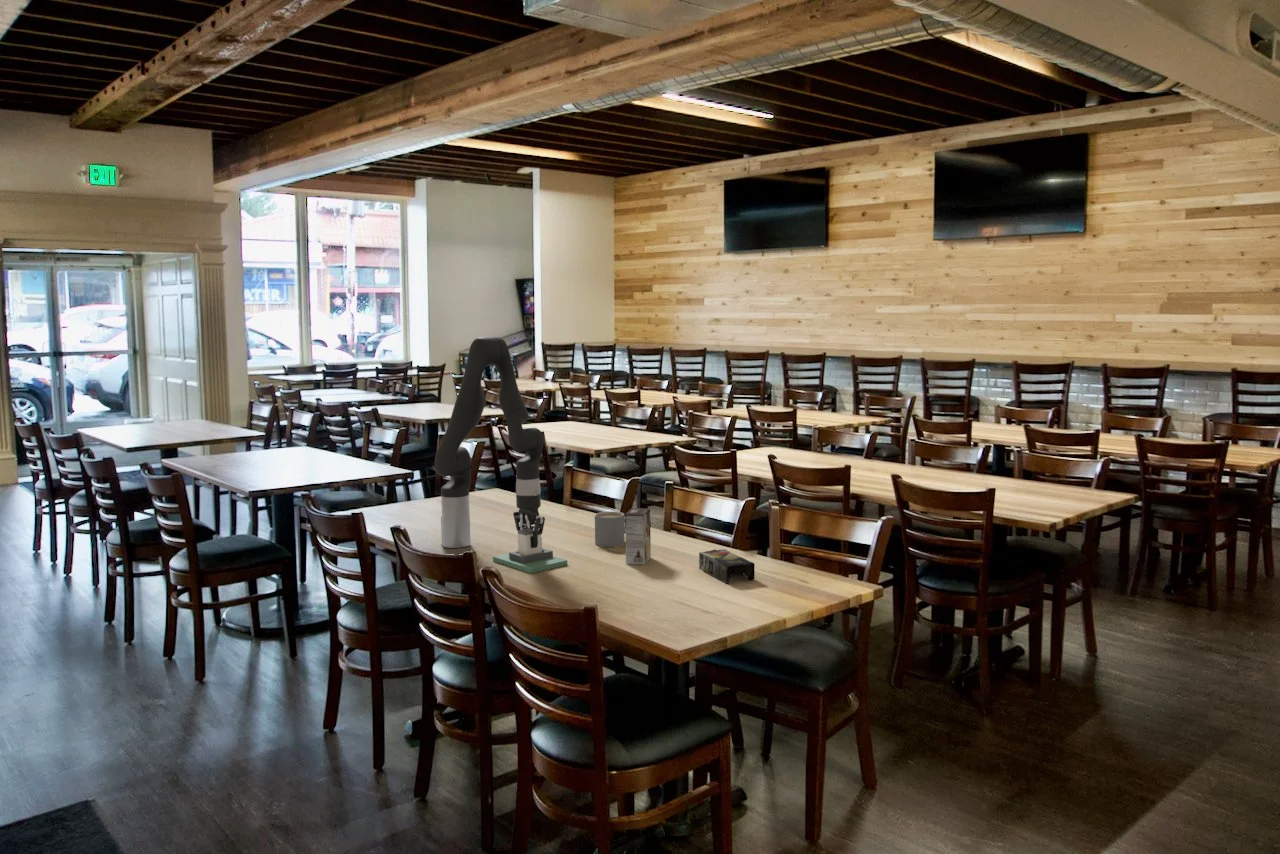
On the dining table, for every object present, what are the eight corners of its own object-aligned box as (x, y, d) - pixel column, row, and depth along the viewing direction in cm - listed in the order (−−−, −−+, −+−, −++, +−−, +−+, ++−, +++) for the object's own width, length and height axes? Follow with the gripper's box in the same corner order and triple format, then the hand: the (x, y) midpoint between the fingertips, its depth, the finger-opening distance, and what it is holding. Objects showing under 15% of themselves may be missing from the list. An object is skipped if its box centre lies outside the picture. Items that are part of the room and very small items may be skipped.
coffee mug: (604, 548, 323) (603, 519, 322) (589, 542, 331) (589, 513, 330) (638, 543, 330) (638, 514, 328) (623, 537, 338) (623, 509, 337)
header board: (493, 561, 308) (492, 550, 308) (529, 553, 318) (528, 542, 317) (530, 573, 294) (530, 562, 293) (567, 564, 303) (567, 553, 302)
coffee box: (631, 556, 312) (631, 507, 310) (651, 557, 311) (650, 508, 309) (625, 564, 303) (624, 513, 301) (645, 565, 302) (645, 514, 300)
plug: (518, 555, 305) (517, 530, 304) (536, 551, 309) (535, 526, 308) (526, 557, 302) (525, 532, 301) (544, 553, 306) (543, 528, 305)
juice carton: (695, 568, 298) (695, 548, 298) (724, 565, 302) (724, 545, 301) (726, 586, 280) (726, 565, 279) (756, 582, 284) (756, 562, 283)
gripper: (505, 491, 305) (506, 544, 307) (532, 497, 295) (533, 552, 297) (524, 487, 310) (526, 540, 313) (551, 493, 300) (553, 548, 302)
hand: (529, 546), depth 305 cm, fingers closed on plug, 4 cm apart
